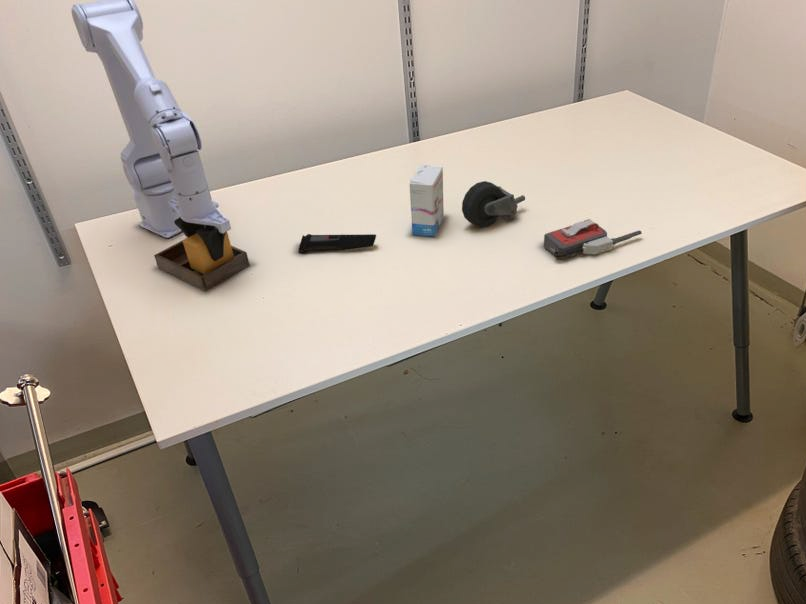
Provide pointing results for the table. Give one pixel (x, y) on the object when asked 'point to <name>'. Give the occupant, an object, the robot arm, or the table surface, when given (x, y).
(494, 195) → the caster wheel
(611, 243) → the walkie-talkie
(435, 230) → the ink box
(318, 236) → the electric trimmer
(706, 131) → the table surface
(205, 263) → the carton
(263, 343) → the table surface
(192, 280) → the organizer
